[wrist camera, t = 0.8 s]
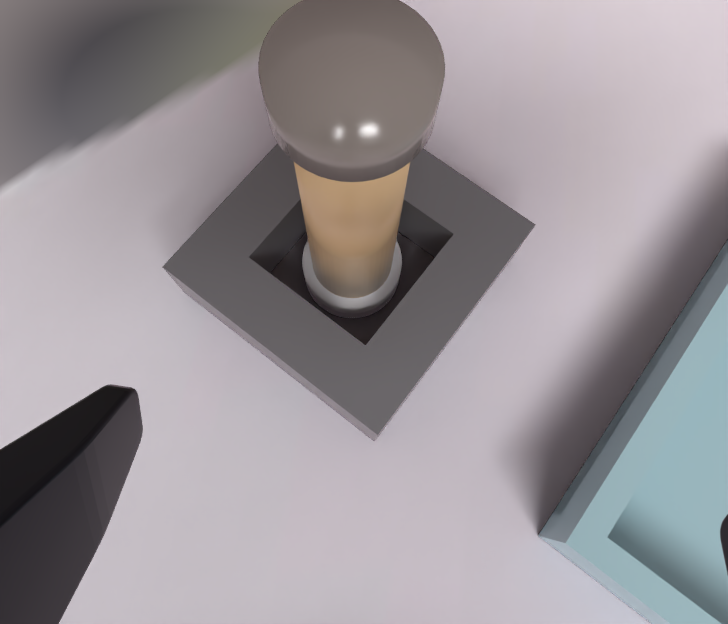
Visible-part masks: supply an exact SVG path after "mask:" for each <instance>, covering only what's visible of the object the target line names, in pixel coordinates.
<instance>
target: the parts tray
mask: <svg viewBox="0 0 728 624" xmlns="http://www.w3.org/2000/svg"><path fill="white" fill-rule="evenodd" d="M727 514H728V240H727V241H726V243H725V244H724V246H723V247H722V249H721V251H720V252H719V254H718V255H717V257H716V258H715V260H714V262H713V263H712V265H711V266H710V268H709V269H708V271H707V273H706V274H705V276H704V277H703V279H702V280H701V282H700V283H699V285H698V287H697V288H696V290H695V291H694V293H693V294H692V296H691V298H690V299H689V301H688V302H687V304H686V305H685V307H684V308H683V310H682V312H681V313H680V315H679V316H678V318H677V319H676V321H675V323H674V324H673V326H672V327H671V329H670V330H669V332H668V333H667V335H666V337H665V338H664V340H663V341H662V343H661V344H660V346H659V348H658V349H657V351H656V352H655V354H654V355H653V357H652V358H651V360H650V362H649V363H648V365H647V366H646V368H645V369H644V371H643V373H642V374H641V376H640V377H639V379H638V380H637V382H636V383H635V385H634V387H633V388H632V390H631V391H630V393H629V394H628V396H627V398H626V399H625V401H624V402H623V404H622V405H621V407H620V409H619V410H618V412H617V413H616V415H615V416H614V418H613V419H612V421H611V423H610V424H609V426H608V427H607V429H606V430H605V432H604V434H603V435H602V437H601V438H600V440H599V441H598V443H597V444H596V446H595V448H594V449H593V451H592V452H591V454H590V455H589V457H588V459H587V460H586V462H585V463H584V465H583V466H582V468H581V469H580V471H579V473H578V474H577V476H576V477H575V479H574V480H573V482H572V484H571V485H570V487H569V488H568V490H567V491H566V493H565V494H564V496H563V498H562V499H561V501H560V502H559V504H558V505H557V507H556V509H555V510H554V512H553V513H552V515H551V516H550V518H549V519H548V521H547V523H546V524H545V526H544V527H543V529H542V530H541V532H540V534H539V535H538V536H539V537H540V538H542V539H543V540H544V541H545V542H547V543H548V544H549V545H551V546H552V547H553V548H554V549H556V550H557V551H558V552H560V553H561V554H562V555H564V556H565V557H566V558H567V559H569V560H570V561H571V562H573V563H574V564H575V565H576V566H578V567H579V568H580V569H582V570H583V571H584V572H585V573H587V574H588V575H589V576H591V577H592V578H593V579H595V580H596V581H597V582H598V583H600V584H601V585H602V586H604V587H605V588H606V589H607V590H609V591H610V592H611V593H613V594H614V595H615V596H616V597H618V598H619V599H620V600H622V601H623V602H624V603H626V604H627V605H628V606H629V607H631V608H632V609H633V610H635V611H636V612H637V613H638V614H640V615H641V616H642V617H644V618H645V619H646V620H648V621H649V622H650V623H651V624H728V575H727V570H726V565H725V560H724V555H723V550H722V545H721V540H720V528H721V524H722V521H723V520H724V518H725V517H726V515H727Z"/></svg>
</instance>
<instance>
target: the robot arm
mask: <svg viewBox="0 0 728 624" xmlns="http://www.w3.org/2000/svg"><path fill="white" fill-rule="evenodd" d="M142 431H143V426H142V419H141V412H140V405H139V398H138V394H137V392H136V390H135V389H133V388H131V387H124V386H118V385H106V386H104V387H102V388H100V389H98V390H97V391H95V392H93V393H92V394H90V395H89V396H87V397H85V398H84V399H82V400H80V401H79V402H77V403H75V404H74V405H72V406H71V407H69V408H67V409H66V410H64V411H62V412H61V413H59V414H57V415H56V416H54V417H53V418H51V419H49V420H48V421H46V422H44V423H43V424H41V425H39V426H38V427H36V428H35V429H33V430H31V431H30V432H28V433H26V434H25V435H23V436H21V437H20V438H18V439H17V440H15V441H13V442H12V443H10V444H8V445H7V446H5V447H3V448H2V449H0V624H59V622H60V620H61V618H62V616H63V614H64V612H65V610H66V608H67V606H68V604H69V603H70V601H71V599H72V597H73V595H74V593H75V591H76V589H77V587H78V585H79V583H80V581H81V579H82V577H83V576H84V574H85V572H86V570H87V568H88V566H89V564H90V562H91V560H92V558H93V556H94V554H95V552H96V550H97V548H98V546H99V544H100V542H101V540H102V538H103V536H104V534H105V531H106V529H107V527H108V524H109V522H110V519H111V517H112V514H113V512H114V509H115V506H116V504H117V501H118V499H119V496H120V493H121V491H122V488H123V486H124V483H125V480H126V478H127V475H128V473H129V470H130V468H131V465H132V462H133V460H134V457H135V455H136V452H137V449H138V447H139V444H140V441H141V438H142ZM720 540H721V545H722V550H723V555H724V560H725V565H726V570H727V575H728V514H727V515H726V517H725V518H724V520H723V521H722V524H721V528H720Z"/></svg>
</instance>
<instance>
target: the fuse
mask: <svg viewBox="0 0 728 624" xmlns="http://www.w3.org/2000/svg"><path fill="white" fill-rule="evenodd" d="M258 64H259V78H260V84H261V88H262V92H263V97H264V101H265V106H266V110H267V114H268V119H269V123H270V127H271V130H272V133H273V135H274V137H275V139H276V141H277V143H278V144H279V146H280V147H281V149H282V150H283V151H284V152H285V154H286V155H287V156H288V157H289V158H290V159H291V160H293V161H294V166H295V171H296V177H297V182H298V188H299V193H300V199H301V204H302V210H303V215H304V221H305V226H306V232H307V237H308V240H307V242H306V245H305V247H304V251H303V257H302V266H303V272H304V276H305V281H306V285H307V288H308V290H309V293H310V295H311V296H312V298H313V299H314V301H315V302H316V303H317V304H318V305H319V306H320V307H321V308H323V309H324V310H326V311H327V312H329V313H331V314H333V315H336V316H339V317H343V318H361V317H365V316H369V315H371V314H373V313H376V312H377V311H379V310H380V309H382V308H383V307H384V306H385V305H386V304H387V303H388V302H389V301H390V300H391V298H392V297H393V295H394V293H395V291H396V289H397V286H398V282H399V277H400V273H401V268H402V255H401V250H400V247H399V244H398V242H397V240H396V239H397V233H398V228H399V222H400V216H401V211H402V205H403V200H404V194H405V188H406V183H407V177H408V172H409V166H410V162H411V161H412V160H413V159H414V158H415V157H416V156H417V155H418V154H419V153H420V152H421V150H422V149H423V147H424V146H425V145H426V143H427V141H428V139H429V137H430V135H431V132H432V129H433V126H434V122H435V117H436V113H437V109H438V104H439V100H440V95H441V91H442V86H443V81H444V76H445V62H444V55H443V51H442V48H441V45H440V42H439V40H438V38H437V36H436V34H435V32H434V31H433V29H432V28H431V26H430V25H429V24H428V23H427V22H426V20H425V19H424V18H423V17H422V16H421V15H420V14H418V13H417V12H416V11H415V10H414V9H412V8H411V7H409V6H408V5H406V4H405V3H403V2H401V1H399V0H303V1H301V2H299V3H297V4H296V5H294V6H293V7H291V8H290V9H288V10H287V11H286V12H285V13H284V14H283V15H281V16H280V17H279V18H278V20H277V21H276V22H275V23H274V24H273V26H272V27H271V29H270V30H269V32H268V33H267V35H266V37H265V39H264V41H263V44H262V47H261V51H260V56H259V63H258Z"/></svg>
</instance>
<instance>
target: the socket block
mask: <svg viewBox="0 0 728 624" xmlns="http://www.w3.org/2000/svg"><path fill="white" fill-rule="evenodd" d="M534 226H535V224H534V223H532V222H531V221H529V220H528V219H526V218H525V217H523V216H522V215H520V214H519V213H517V212H516V211H514V210H513V209H512V208H510V207H509V206H507V205H506V204H504V203H503V202H501V201H500V200H498V199H497V198H495V197H494V196H492V195H491V194H489V193H488V192H486V191H485V190H483V189H482V188H480V187H479V186H478V185H476V184H475V183H473V182H472V181H470V180H469V179H467V178H466V177H464V176H463V175H461V174H460V173H458V172H457V171H455V170H454V169H452V168H451V167H449V166H448V165H446V164H445V163H443V162H442V161H441V160H439V159H438V158H436V157H435V156H433V155H432V154H430V153H429V152H427V151H426V150H424V149H422V150H421V152H420V153H419V154H418V155H417V156H416V157H415V158H414V159H413V160H412V161H411V162H410V166H409V172H408V177H407V183H406V188H405V194H404V200H403V205H402V211H401V216H400V222H399V228H398V231H399V232H400V233H401V234H403V235H404V236H406V237H407V238H408V239H410V240H411V241H413V242H414V243H415V244H417V245H418V246H420V247H421V248H422V249H424V250H425V251H427V252H428V253H430V254H431V255H432V256H434V257H435V258H434V260H433V261H432V262H431V263H430V265H429V266H428V267H427V268H426V270H425V271H424V272H423V274H422V275H421V276H420V277H419V279H418V280H417V281H416V282H415V284H414V285H413V286H412V287H411V289H410V290H409V291H408V292H407V294H406V295H405V296H404V298H403V299H402V300H401V301H400V303H399V304H398V305H397V306H396V308H395V309H394V310H393V311H392V313H391V314H390V315H389V317H388V318H387V319H386V320H385V322H384V323H383V324H382V325H381V327H380V328H379V329H378V330H377V332H376V333H375V334H374V335H373V337H372V338H371V339H370V341H369V342H368V343H367V344H366V345H364V344H363V343H362V342H360V341H359V340H358V339H356V338H355V337H354V336H352V335H351V334H350V333H348V332H347V331H346V330H344V329H343V328H342V327H340V326H339V325H338V324H337V323H335V322H334V321H333V320H331V319H330V318H329V317H327V316H326V315H325V314H323V313H322V312H321V311H319V310H318V309H317V308H315V307H314V306H313V305H311V304H310V303H309V302H307V301H306V300H305V299H303V298H302V297H301V296H299V295H298V294H297V293H295V292H294V291H293V290H291V289H290V288H289V287H287V286H286V285H285V284H284V283H282V282H281V281H280V280H278V279H277V278H276V277H274V276H273V275H272V274H270V272H271V271H272V270H273V269H274V268H275V266H276V265H277V264H278V263H279V262H280V261H281V260H282V258H283V257H284V256H285V255H286V254H287V253H288V252H289V250H290V249H291V248H292V247H293V246H294V245H295V244H296V242H297V241H298V240H299V239H300V238H301V237H302V236H303V234H304V233H305V232H306V226H305V221H304V215H303V210H302V204H301V199H300V193H299V188H298V182H297V177H296V171H295V166H294V161H293V160H291V159H290V158H289V157H288V156H287V155H286V154H285V152H284V151H283V150H282V149H281V147H280V146H279V144H277V145H276V146H275V147H274V148H273V149H272V150H271V151H270V152H269V153H268V154H267V155H266V156H265V158H264V159H263V160H262V161H261V162H260V163H259V164H258V165H257V166H256V167H255V168H254V169H253V170H252V171H251V173H250V174H249V175H248V176H247V177H246V178H245V179H244V180H243V181H242V182H241V183H240V184H239V185H238V186H237V188H236V189H235V190H234V191H233V192H232V193H231V194H230V195H229V196H228V197H227V198H226V199H225V200H224V201H223V203H222V204H221V205H220V206H219V207H218V208H217V209H216V210H215V211H214V212H213V213H212V214H211V215H210V216H209V218H208V219H207V220H206V221H205V222H204V223H203V224H202V225H201V226H200V227H199V228H198V229H197V230H196V232H195V233H194V234H193V235H192V236H191V237H190V238H189V239H188V240H187V241H186V242H185V243H184V244H183V245H182V247H181V248H180V249H179V250H178V251H177V252H176V253H175V254H174V255H173V256H172V257H171V258H170V259H169V260H168V262H167V263H166V264H165V265H164V266H163V268H164V269H165V270H166V272H167V273H168V274H169V275H170V276H171V277H172V279H173V280H174V281H175V282H176V283H177V284H178V285H179V287H180V288H181V289H182V290H183V291H184V292H185V293H186V294H187V295H188V296H190V297H191V298H192V299H194V300H195V301H196V302H197V303H199V304H200V305H201V306H203V307H204V308H205V309H206V310H208V311H209V312H210V313H211V314H213V315H214V316H215V317H217V318H218V319H219V320H220V321H222V322H223V323H224V324H225V325H227V326H228V327H229V328H231V329H232V330H233V331H234V332H236V333H237V334H238V335H239V336H241V337H242V338H243V339H245V340H246V341H247V342H248V343H250V344H251V345H252V346H253V347H255V348H256V349H257V350H259V351H260V352H261V353H262V354H264V355H265V356H266V357H267V358H269V359H270V360H271V361H273V362H274V363H275V364H276V365H278V366H279V367H280V368H282V369H283V370H284V371H285V372H287V373H288V374H289V375H290V376H292V377H293V378H294V379H296V380H297V381H298V382H299V383H301V384H302V385H303V386H304V387H306V388H307V389H308V390H310V391H311V392H312V393H313V394H315V395H316V396H317V397H318V398H320V399H321V400H322V401H324V402H325V403H326V404H327V405H329V406H330V407H331V408H332V409H334V410H335V411H336V412H338V413H339V414H340V415H341V416H343V417H344V418H345V419H347V420H348V421H349V422H350V423H352V424H353V425H354V426H355V427H357V428H358V429H359V430H361V431H362V432H363V433H364V434H366V435H367V436H368V437H369V438H371V439H372V440H373V441H375V440H376V439H377V437H378V436H379V435H380V433H381V432H382V431H383V429H384V428H385V427H386V425H387V424H388V423H389V421H390V420H391V419H392V417H393V416H394V415H395V413H396V412H397V411H398V409H399V408H400V407H401V405H402V404H403V403H404V401H405V400H406V399H407V397H408V396H409V395H410V393H411V392H412V391H413V389H414V388H415V387H416V385H417V384H418V383H419V381H420V380H421V379H422V377H423V376H424V375H425V373H426V372H427V371H428V369H429V368H430V367H431V365H432V364H433V363H434V361H435V360H436V359H437V357H438V356H439V355H440V353H441V352H442V351H443V349H444V348H445V347H446V345H447V344H448V343H449V341H450V340H451V339H452V337H453V336H454V335H455V333H456V332H457V331H458V329H459V328H460V327H461V325H462V324H463V323H464V321H465V320H466V319H467V317H468V316H469V315H470V313H471V312H472V311H473V309H474V308H475V307H476V305H477V304H478V303H479V301H480V300H481V299H482V297H483V296H484V295H485V293H486V292H487V291H488V289H489V288H490V287H491V285H492V284H493V283H494V281H495V280H496V279H497V277H498V276H499V275H500V273H501V272H502V271H503V269H504V268H505V267H506V265H507V264H508V263H509V261H510V260H511V259H512V257H513V256H514V255H515V253H516V252H517V250H518V249H519V248H520V246H521V245H522V243H523V242H524V240H525V239H526V238H527V236H528V235H529V233H530V232H531V230H532V229H533V228H534Z"/></svg>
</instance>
